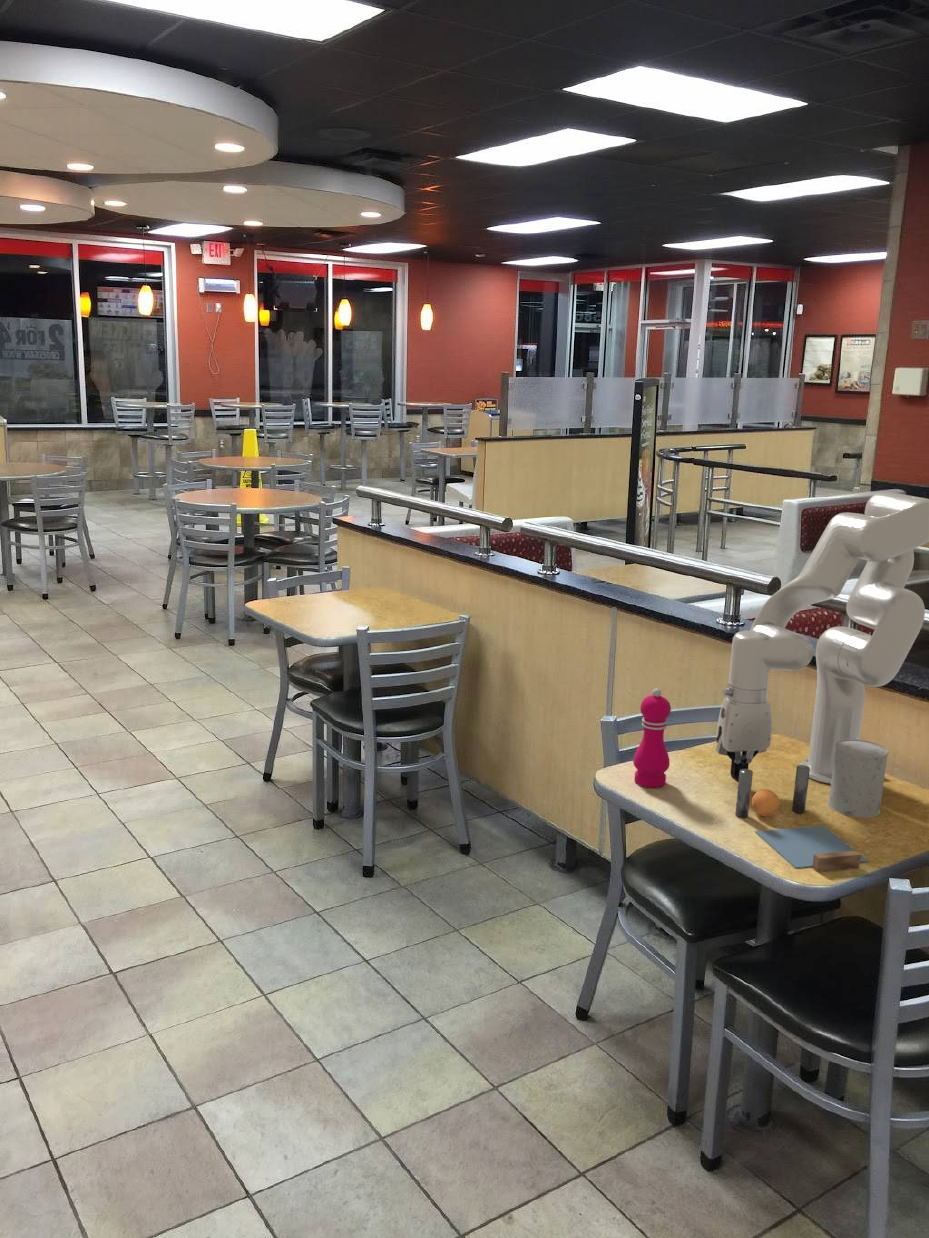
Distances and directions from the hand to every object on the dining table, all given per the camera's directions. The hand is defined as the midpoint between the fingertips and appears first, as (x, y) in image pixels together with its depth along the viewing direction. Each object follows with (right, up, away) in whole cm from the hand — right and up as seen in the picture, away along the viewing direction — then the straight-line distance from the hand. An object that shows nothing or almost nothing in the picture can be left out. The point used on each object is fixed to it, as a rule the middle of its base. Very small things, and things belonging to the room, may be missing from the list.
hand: (738, 779), depth 206 cm
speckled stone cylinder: (+20, -4, -8) cm, 22 cm away
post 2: (+9, -4, -11) cm, 14 cm away
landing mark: (+6, -8, -25) cm, 27 cm away
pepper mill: (-18, -1, +1) cm, 18 cm away
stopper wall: (+8, -10, -33) cm, 35 cm away
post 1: (-3, -5, -13) cm, 14 cm away
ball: (+2, -2, -13) cm, 14 cm away
